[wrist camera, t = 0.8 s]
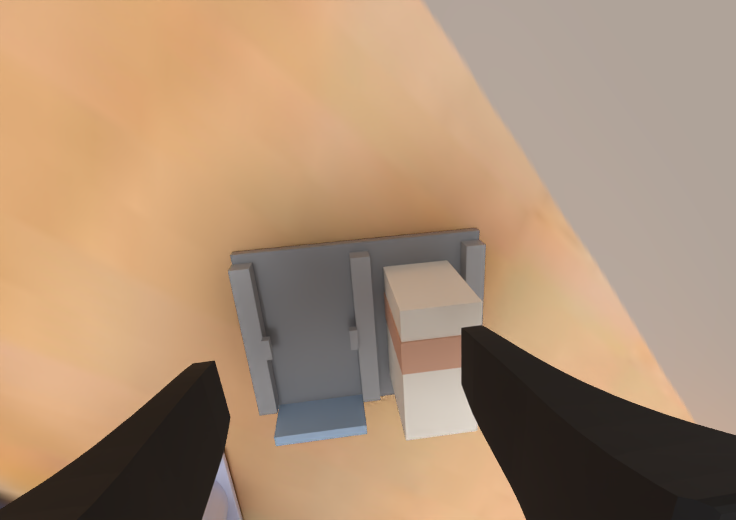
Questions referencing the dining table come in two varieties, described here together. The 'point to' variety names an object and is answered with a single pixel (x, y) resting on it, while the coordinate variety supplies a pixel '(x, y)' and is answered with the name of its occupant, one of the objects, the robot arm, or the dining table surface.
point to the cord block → (429, 346)
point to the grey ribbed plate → (330, 324)
